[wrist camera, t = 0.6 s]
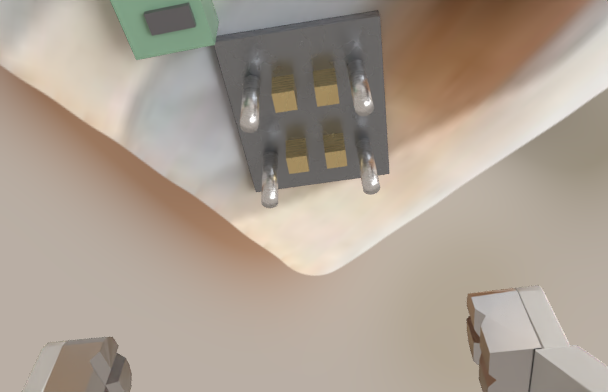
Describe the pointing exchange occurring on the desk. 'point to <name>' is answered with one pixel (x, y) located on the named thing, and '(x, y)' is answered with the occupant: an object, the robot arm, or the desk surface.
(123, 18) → the green rectangular block
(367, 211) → the desk surface
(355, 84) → the chassis
